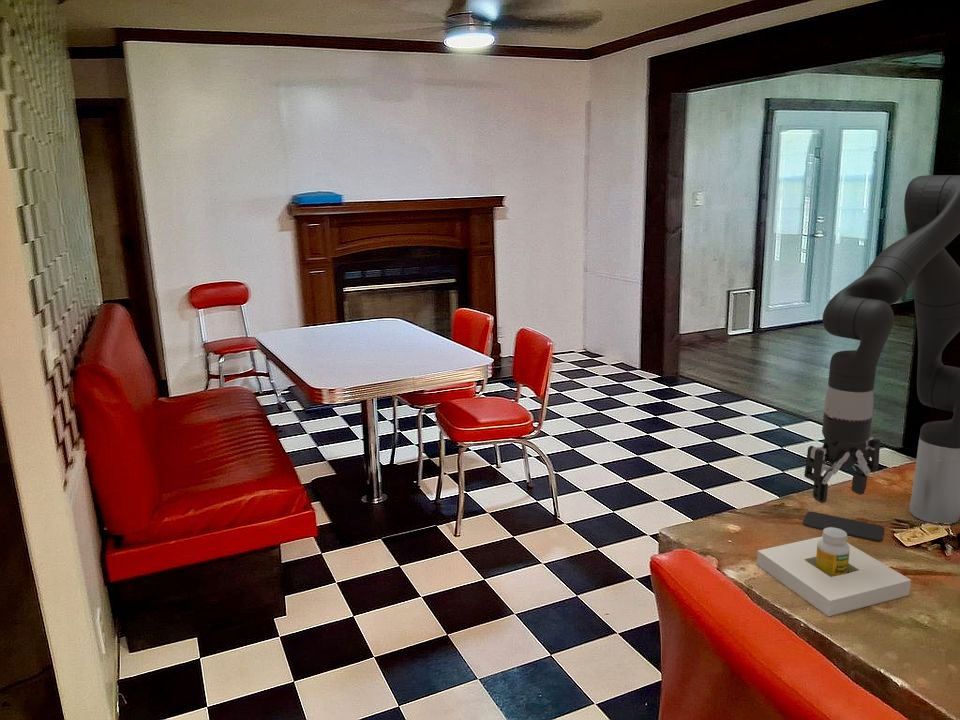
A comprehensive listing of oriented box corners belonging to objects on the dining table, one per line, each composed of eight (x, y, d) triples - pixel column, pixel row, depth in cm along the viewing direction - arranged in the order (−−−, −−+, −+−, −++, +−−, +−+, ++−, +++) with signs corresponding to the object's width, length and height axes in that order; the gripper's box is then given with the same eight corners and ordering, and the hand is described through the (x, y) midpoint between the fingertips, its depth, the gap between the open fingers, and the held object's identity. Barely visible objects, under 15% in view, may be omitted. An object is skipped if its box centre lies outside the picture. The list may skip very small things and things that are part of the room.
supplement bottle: (824, 568, 137) (829, 522, 135) (852, 580, 133) (857, 533, 130) (808, 577, 134) (812, 530, 132) (835, 590, 130) (841, 542, 127)
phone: (807, 510, 160) (884, 526, 152) (807, 513, 160) (884, 529, 152) (801, 524, 154) (881, 541, 146) (801, 527, 154) (881, 544, 146)
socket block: (830, 547, 144) (832, 534, 144) (909, 595, 128) (911, 580, 127) (756, 564, 139) (757, 550, 138) (828, 616, 122) (830, 600, 122)
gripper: (862, 400, 131) (853, 482, 135) (798, 410, 126) (791, 495, 131) (897, 412, 124) (887, 498, 128) (831, 423, 120) (823, 513, 124)
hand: (838, 497), depth 129 cm, fingers open, 8 cm apart
